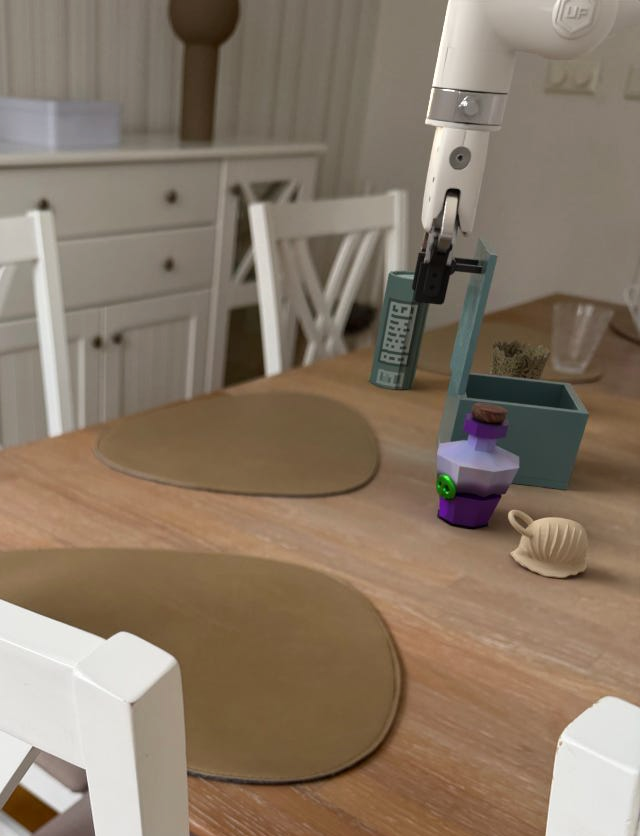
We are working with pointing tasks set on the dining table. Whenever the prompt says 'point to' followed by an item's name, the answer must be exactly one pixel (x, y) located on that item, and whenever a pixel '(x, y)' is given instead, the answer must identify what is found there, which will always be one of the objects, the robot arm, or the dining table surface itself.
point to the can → (399, 334)
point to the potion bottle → (475, 469)
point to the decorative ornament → (550, 545)
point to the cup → (518, 360)
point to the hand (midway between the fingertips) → (427, 295)
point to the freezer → (524, 423)
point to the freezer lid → (471, 309)
